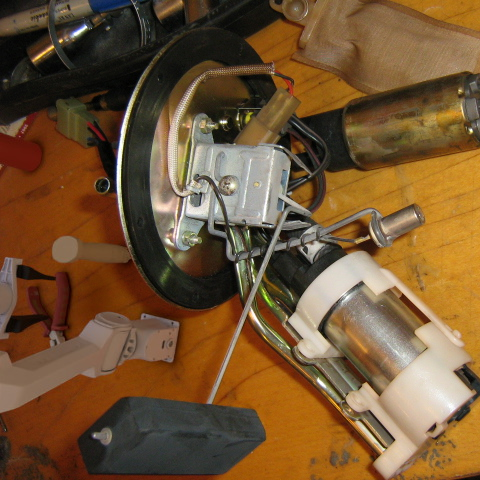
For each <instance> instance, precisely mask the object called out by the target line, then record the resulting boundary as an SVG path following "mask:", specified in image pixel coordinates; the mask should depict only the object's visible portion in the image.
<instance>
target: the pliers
mask: <svg viewBox="0 0 480 480" xmlns="http://www.w3.org/2000/svg"><path fill="white" fill-rule="evenodd" d="M54 277H56V281H55V283H56V284H55V285H56V289H57V295H56V301H55V307H54V311H53V312H54V313H53V316H52V317H53V318H52V319H51V317H50V316H49V314H48V313H47V311H45V309H44V308H43V306H42V303H41V300H40V293H39V289H38V288H37V286H34V285H31V286H28V287H27V288H26V290H25V292H26V299H27V305H28V308H29V310H30V311H31V313H32V315H33V314H43V315H47V316H49V319H48V320H44V321H41V322H38V323H39V325H41V327H42V328H43V329H44V331H43V332H42V333H41V335H42V337H43V338H45V339H46V338H47V339H48V338H50V340H49V345H50V348H51V347H53V346H56V345H58V344H61V343H63V342H66V338H65V336H63V335H64V334H63V332H64V331H65V330H68V329H69V325H66V324H65V322H66V316H67V312H68V306H69V300H70V284H69V280H68V276H67V274H66V272H64V271H57V272H55V273H54Z"/></svg>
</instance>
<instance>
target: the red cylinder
mask: <svg viewBox="0 0 480 480" xmlns="http://www.w3.org/2000/svg"><path fill="white" fill-rule="evenodd" d="M42 151H43V150H42V147H41V146H40V145H39V144H38V143H35V142H32V141H29V140H27V139H22V138H19V137H17V136H13V135H11V134H6V133H3V132H0V165H1V166H5V167H9V168H13V169H18V170H22V171H25V172H34V171H35V170H36V169H38V167H39V166H40V164H41V162H42V158H43V152H42Z"/></svg>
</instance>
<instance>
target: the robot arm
mask: <svg viewBox="0 0 480 480" xmlns="http://www.w3.org/2000/svg"><path fill="white" fill-rule="evenodd" d="M23 261H24V259H23V258H18V257H9V256H5V258H4V262H3V265H2V268H1V270H0V340H8V339H9V337H10V333H12V334H20V333H22V332H24V331H25V330H26V329H28V328H29V327H31V326H34V325H36V324H38V323H39V322H41V321H44V320H48V319H49V317H50V315H48V314H47V315H48V316H47V315H43V314H33V313H32V314H24V315H21V314H20V315H15V314H13V312H14V310H15V308H16V305H17V303H18V284H17V283H18V281H17V280H18V279H20V280H24V281H25V280H26V281H38V280H39V281H40V280H41V281H51V282H52V281H53V282H54V281H55V282H56V277H55V275H50V274H49V275H48V274H45V273H42V272H40V271H39V270H36V269H35V268H33V267H31V266H30V265H24V264H23ZM12 314H13V315H12ZM180 325H181V324H180V322H179V321H177V320H173V319H169V318H165V317H160V316H157V315H153V314H149V313H141V315H140V319H130V318H129V317H127V316H126V315H124V314H121V313H117V312H115V311H114V312H113V311H102V312H99V313H96V315H95V317H94V318H92V319H90V320H89V321H88V323H87V324H86V325H85V326H84V328H83V330H82V331H81V332H80V333H79V335H77V336H76V337H72V338H70V339H68V340H65V342H63V343H61V344H58V345H56V346H53V347H51V346H50V347H48V348H46V349H43V350H41V351H38V352H36V353H34V354H31V355H28V356H26V357H24V358H21V359H19V360H16V361H13V362H12V361H11V359H10V358H11V357H10V356H9V353H8V352H7V351H4V350H0V414H2V413H6V412H9V411H12V410H16V409H18V408H20V407H22V406H24V405H26V404H28V403H29V402H31V401H33V400H35V399H36V398H39V397H40V396H42V395H44V394H46V393H47V392H49V391H51V390H53V389H55V388H57V387H59V386H61V385H62V384H64V383H66V382H67V381H70V380H71V379H73V378H75V377H77V376H79V375H82V376H85V377H87V378H91V379H96V378H98V377H100V376H107V375H110V374H113V373H114V372H115V371H116V369H117V366H123V364H124V363H125V362H126V361H131V360H143V361H147V362H157V361H163V362H166V363H173V362H174V360H175V355H176V348H177V342H178V336H179V330H180Z"/></svg>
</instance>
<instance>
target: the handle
mask: <svg viewBox="0 0 480 480" xmlns="http://www.w3.org/2000/svg"><path fill="white" fill-rule="evenodd" d="M127 248H128V247H126V246H122V245H119V244H114V243H107V242H88V241H85V242H84V241H83V240H82V239H81V238H79V237H77V236H74V235H63V236H60V237H58V238H57V239H56V240H55V241H54V242H53V244H52V248H51V254H52V255H51V256H52V259H53V260H54V261H56V262H58V263H61V264H73V263H76V262H78V260H81V261H89V262H95V263H104V264H126V263H128V262H129V261H130V260H132V258H131V257H130V254H129V252H128V250H127Z"/></svg>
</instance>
